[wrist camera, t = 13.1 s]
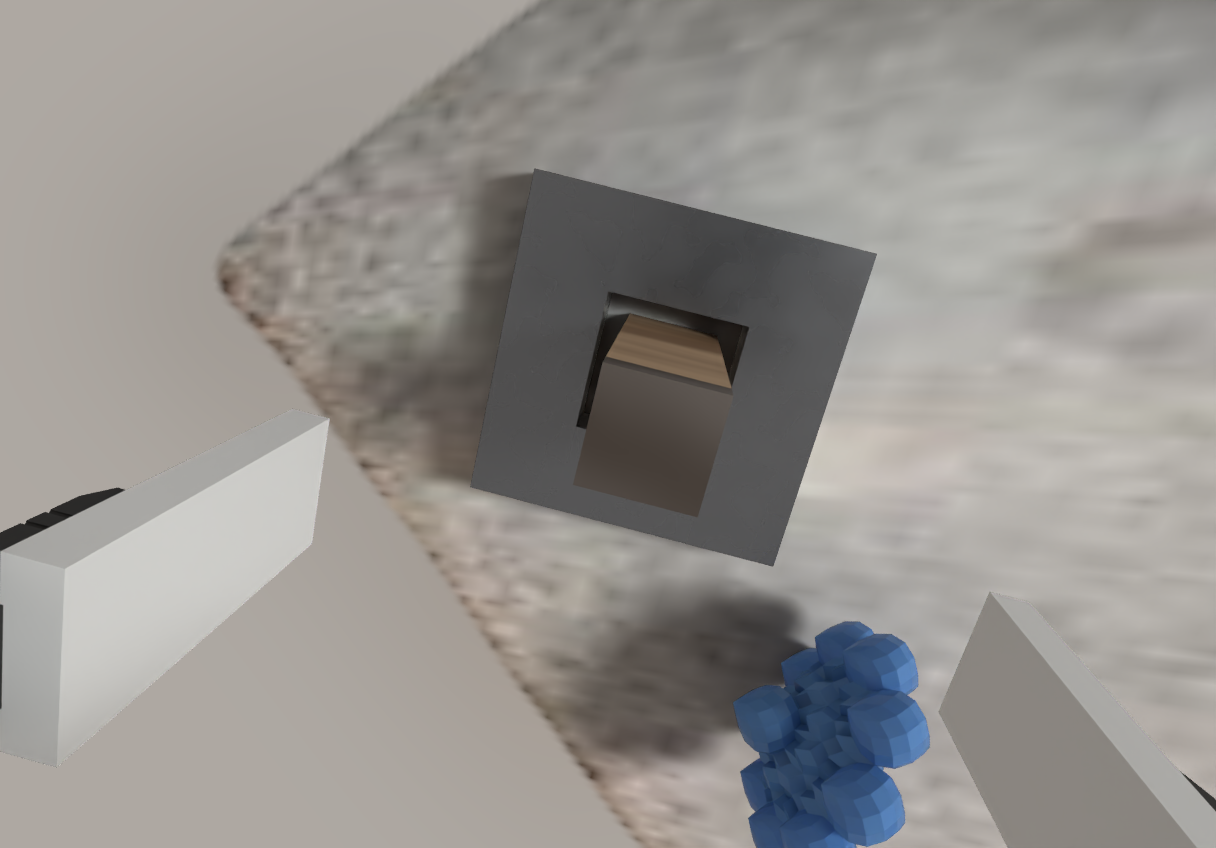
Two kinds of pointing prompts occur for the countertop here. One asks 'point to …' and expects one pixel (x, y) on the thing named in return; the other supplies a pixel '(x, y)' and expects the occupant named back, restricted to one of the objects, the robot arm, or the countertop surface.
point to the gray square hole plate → (684, 279)
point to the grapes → (832, 742)
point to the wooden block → (656, 416)
